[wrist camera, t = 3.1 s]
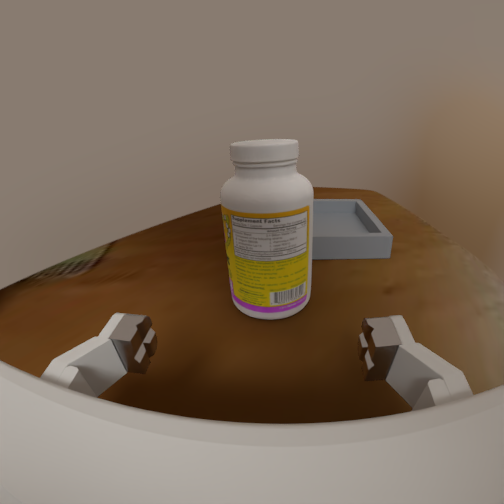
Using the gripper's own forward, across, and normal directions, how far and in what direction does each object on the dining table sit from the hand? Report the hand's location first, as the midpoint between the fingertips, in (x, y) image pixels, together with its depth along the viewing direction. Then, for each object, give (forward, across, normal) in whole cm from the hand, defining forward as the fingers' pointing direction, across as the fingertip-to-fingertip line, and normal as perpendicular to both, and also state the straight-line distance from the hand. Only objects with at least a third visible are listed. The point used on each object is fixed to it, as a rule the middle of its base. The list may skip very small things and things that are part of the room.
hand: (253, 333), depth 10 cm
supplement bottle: (+12, 0, +7) cm, 14 cm away
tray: (+26, -6, +7) cm, 28 cm away
